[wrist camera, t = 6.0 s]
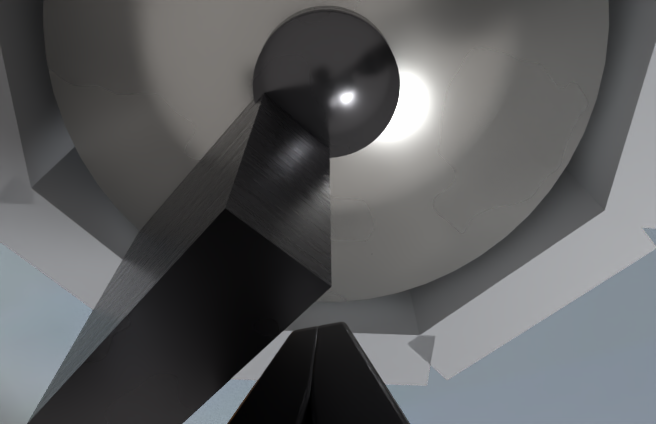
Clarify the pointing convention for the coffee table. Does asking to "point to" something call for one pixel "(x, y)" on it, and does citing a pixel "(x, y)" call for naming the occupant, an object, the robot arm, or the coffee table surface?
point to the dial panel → (386, 311)
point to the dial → (297, 165)
